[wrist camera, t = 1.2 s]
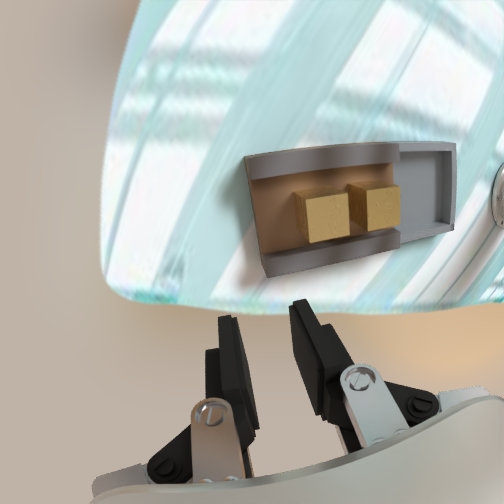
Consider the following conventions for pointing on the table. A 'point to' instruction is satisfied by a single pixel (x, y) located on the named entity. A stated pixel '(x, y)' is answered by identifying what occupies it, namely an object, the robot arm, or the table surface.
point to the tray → (426, 188)
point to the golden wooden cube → (322, 213)
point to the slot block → (306, 177)
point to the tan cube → (374, 204)
